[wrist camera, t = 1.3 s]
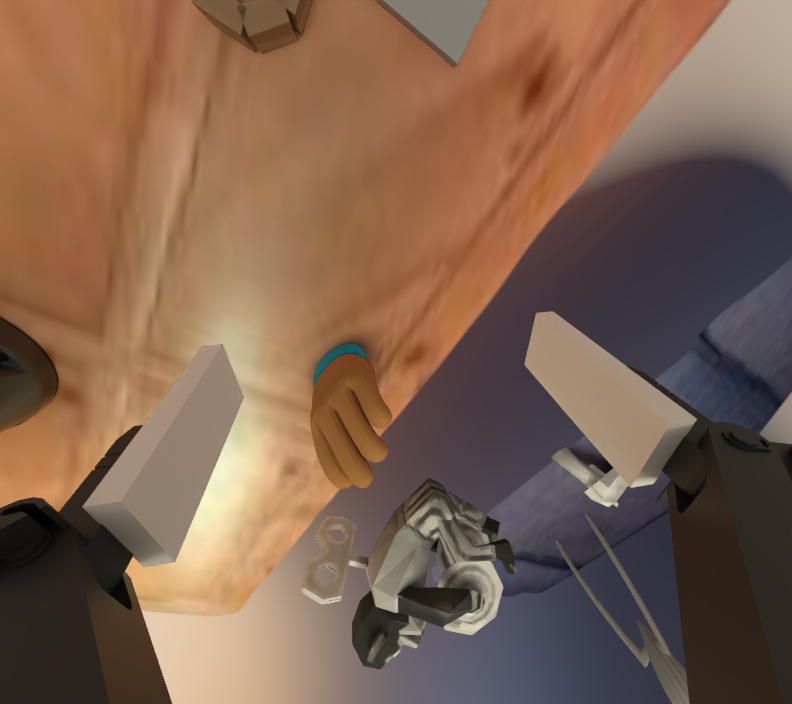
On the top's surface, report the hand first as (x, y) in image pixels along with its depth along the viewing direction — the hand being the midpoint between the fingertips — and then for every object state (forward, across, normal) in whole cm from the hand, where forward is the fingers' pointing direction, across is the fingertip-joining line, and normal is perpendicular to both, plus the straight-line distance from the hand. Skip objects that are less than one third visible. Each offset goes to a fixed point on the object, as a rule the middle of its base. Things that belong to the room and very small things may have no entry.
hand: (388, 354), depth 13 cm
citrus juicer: (+22, +43, -69) cm, 85 cm away
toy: (+22, +3, -50) cm, 55 cm away
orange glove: (+22, -4, -16) cm, 27 cm away
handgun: (+22, +38, -42) cm, 60 cm away
